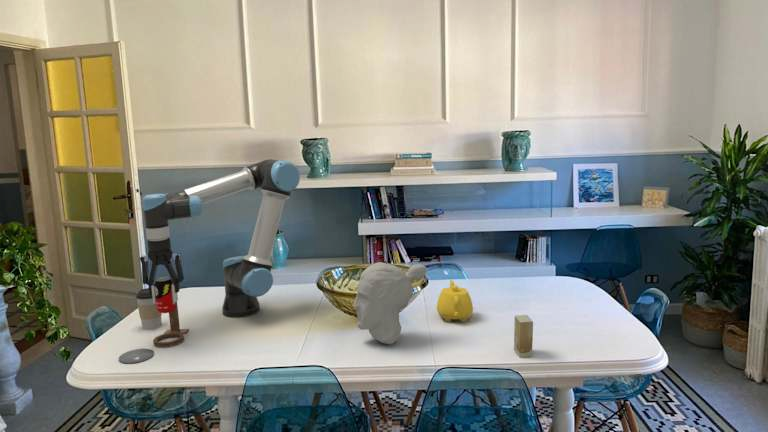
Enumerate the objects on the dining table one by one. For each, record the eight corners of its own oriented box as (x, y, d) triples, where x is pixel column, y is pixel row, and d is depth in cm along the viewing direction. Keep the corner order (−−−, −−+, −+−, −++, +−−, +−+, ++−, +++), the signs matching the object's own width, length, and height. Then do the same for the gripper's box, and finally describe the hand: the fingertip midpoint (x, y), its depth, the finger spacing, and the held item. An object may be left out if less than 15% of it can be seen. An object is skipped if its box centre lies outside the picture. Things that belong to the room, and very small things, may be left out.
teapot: (438, 326, 210) (438, 293, 207) (435, 308, 229) (434, 278, 227) (475, 325, 209) (475, 292, 207) (469, 307, 229) (468, 277, 227)
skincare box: (513, 350, 186) (513, 314, 184) (526, 349, 187) (526, 314, 185) (519, 358, 180) (520, 321, 178) (532, 357, 180) (533, 321, 178)
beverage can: (161, 308, 204) (158, 276, 202) (178, 307, 204) (175, 275, 201) (154, 314, 198) (150, 281, 195) (172, 313, 197) (168, 281, 195)
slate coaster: (158, 349, 196) (158, 347, 196) (147, 363, 185) (147, 361, 185) (126, 351, 195) (126, 349, 195) (113, 364, 185) (113, 363, 184)
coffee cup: (155, 331, 213) (151, 293, 211) (134, 330, 215) (130, 292, 212) (169, 322, 222) (165, 286, 219) (148, 321, 224) (144, 285, 221)
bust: (352, 335, 203) (349, 260, 199) (422, 328, 208) (421, 255, 203) (357, 351, 189) (354, 271, 184) (432, 344, 193) (431, 265, 188)
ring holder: (191, 330, 213) (188, 293, 210) (179, 346, 198) (175, 306, 195) (164, 331, 212) (160, 294, 210) (149, 348, 197) (145, 308, 195)
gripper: (189, 234, 200) (196, 296, 204) (134, 237, 199) (142, 299, 203) (183, 239, 193) (190, 303, 197) (126, 242, 192) (134, 306, 196)
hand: (165, 301), depth 200 cm, fingers closed on beverage can, 6 cm apart
